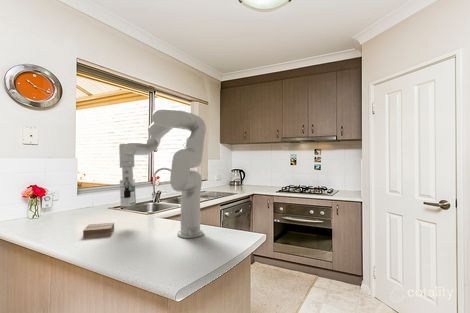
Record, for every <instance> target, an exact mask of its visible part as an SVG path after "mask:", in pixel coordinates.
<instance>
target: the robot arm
mask: <svg viewBox="0 0 470 313" xmlns="http://www.w3.org/2000/svg"><path fill="white" fill-rule="evenodd" d="M151 121H152V123H151V124H150V125H149V126H148V128H147V130H148V131H147V132H148V134H149V135H150V137H149V138H148V139H147V140H146V141H136V140H134V141H128V142H121V143H119V147H118V148H119V168H121V172H122V174H121V176H122V179H121V180H123V185H124V198H130V197H131V192H130V184H131V185H133V179H134V169H133V168H135V156H148V155H150V154H152V153H153V152H154V151H155V150H156V149H158V147H159V146H160V144H161V139H162V138H163V137H164V136H166V135H167V134H168V133H169V132H170V131H171V130H172V129H173V128H174V129H180V130H186V131H189V133H188V134H187V137H186V142H185V143H186V144H185V147H181V148H179V149H177V150H176V151H175V152H174V154H173V156H172V161H171V170H170V176H169V178H170V180H169V182H170V183H169V184H170V186H171V189H172V190H174V191H175V192H181V195H180V230H179V231H177V233H176V235H177V236H178V238H183V239H194V238H195V239H196V238H199V237H202V236H203V235H204V231H203V230H202V229H201V193H202V192H201V189H202V184H203V179H202V176H201V174H200V173H199V171H197V170H194V169H195V168H198V167H199V166H200V165H201V164H202V161H203V153H204V144H205V143H204V142H205V137H206V133H207V132H206V131H207V130H206V129H207V128H206V123H205V121H204V119H203V118H202V117H200V116H198V115H197V114H194V113H191V112H188V111H184V110H180V109H172V108H171V109H170V108H169V109H168V108H157V109H156V110H154V111H153V113H152V115H151ZM190 169H191V170H190ZM192 169H193V170H192ZM128 182H129V184H128Z"/></svg>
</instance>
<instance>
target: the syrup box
mask: <svg viewBox="0 0 470 313" xmlns="http://www.w3.org/2000/svg"><path fill="white" fill-rule="evenodd" d="M128 184H129V182H128ZM130 192H131V197H130V198H124V185H123V179H121V180H119V196H120V198H119V199H120V207H133V206H135V205H137V200H136V198H137V197H136V180H135V178H133V185H131V184H130Z"/></svg>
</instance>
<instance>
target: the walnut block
mask: <svg viewBox="0 0 470 313" xmlns="http://www.w3.org/2000/svg"><path fill="white" fill-rule="evenodd" d="M114 230H115V222H105V223H103V222H102V223H92V224H87V225H86V227H85V228H84V229H83V230H82V232H83V233H82V237H83V238H82V239H88V238H89V239H90V238H100V237H101V238H102V237H111V236H112V235H113V232H114Z"/></svg>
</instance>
